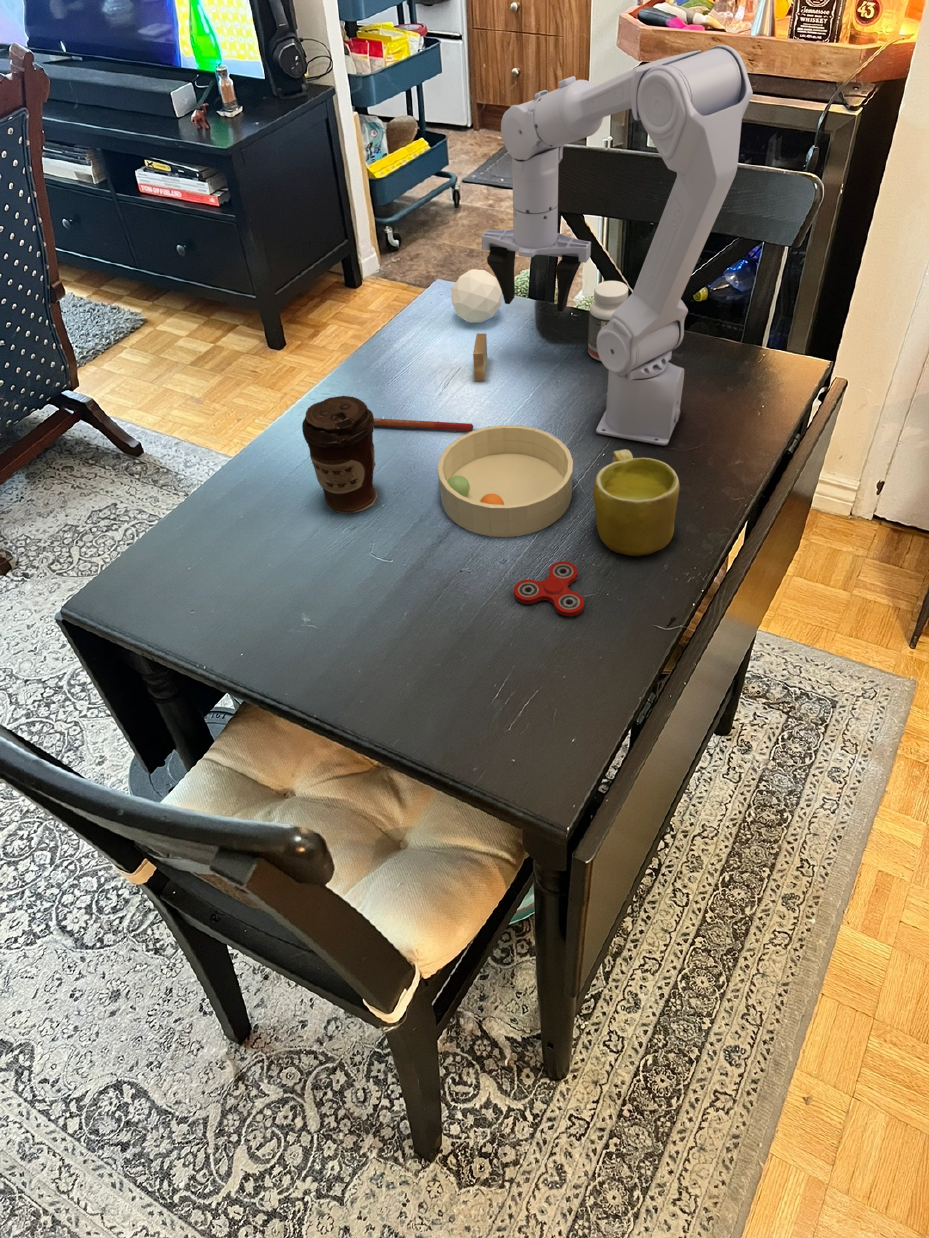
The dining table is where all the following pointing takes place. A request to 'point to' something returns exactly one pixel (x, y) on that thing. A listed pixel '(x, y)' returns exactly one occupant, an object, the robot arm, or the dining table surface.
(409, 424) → the pencil
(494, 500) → the orange bead
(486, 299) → the ball
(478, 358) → the brown block
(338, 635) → the dining table surface
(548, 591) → the fidget spinner
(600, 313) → the pill bottle
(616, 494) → the mug
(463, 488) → the green bead
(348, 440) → the coffee cup
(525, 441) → the bowl
